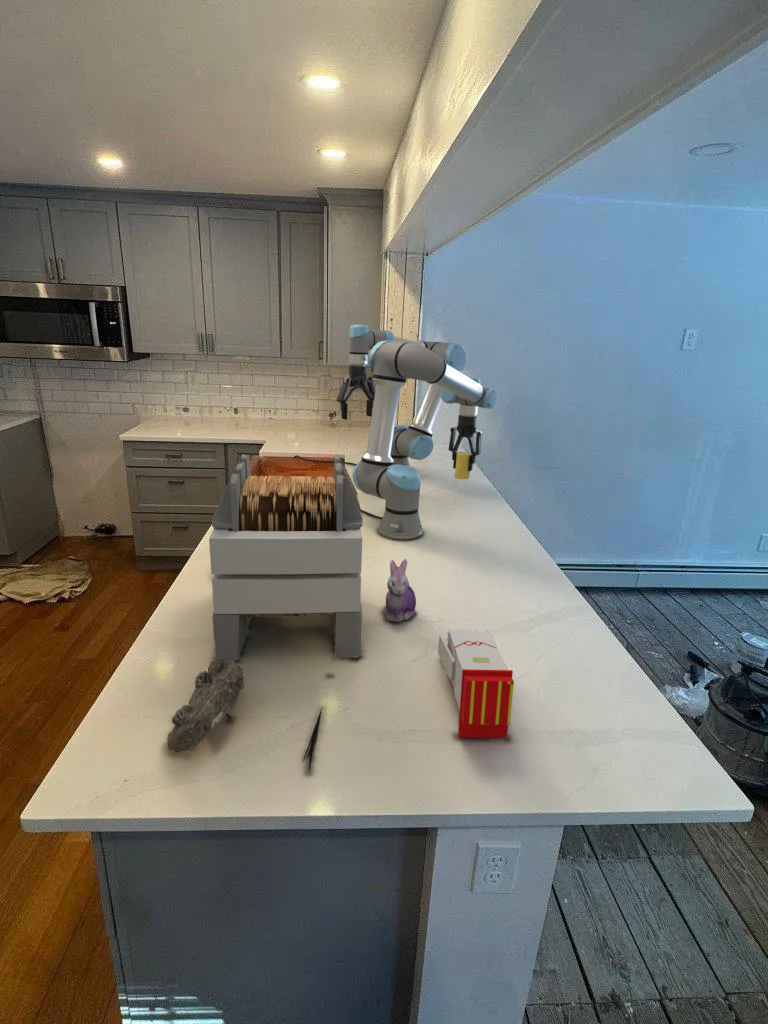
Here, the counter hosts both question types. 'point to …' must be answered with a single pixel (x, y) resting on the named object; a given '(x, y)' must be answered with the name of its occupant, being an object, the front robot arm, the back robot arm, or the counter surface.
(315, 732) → the feather
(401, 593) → the figurine
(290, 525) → the record crate
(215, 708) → the fossil
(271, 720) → the counter surface
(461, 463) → the canister
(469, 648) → the toy
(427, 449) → the back robot arm
